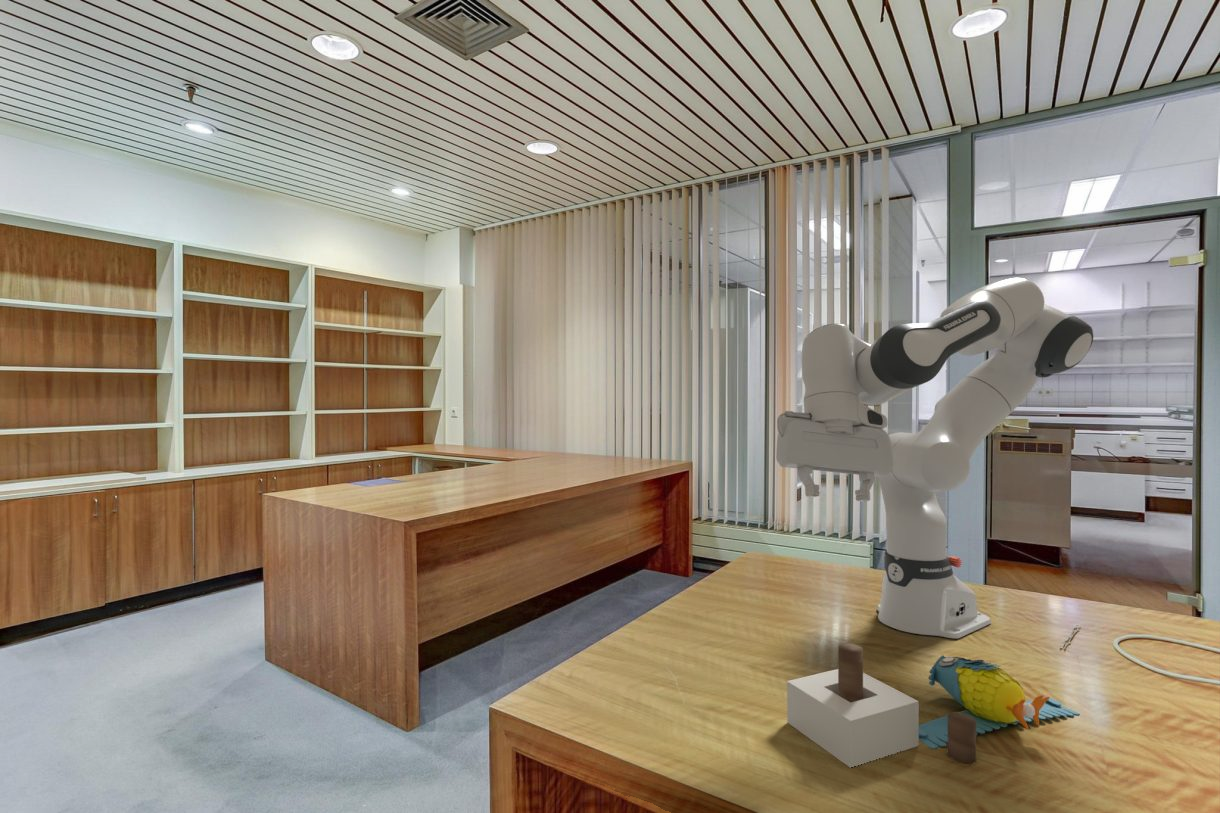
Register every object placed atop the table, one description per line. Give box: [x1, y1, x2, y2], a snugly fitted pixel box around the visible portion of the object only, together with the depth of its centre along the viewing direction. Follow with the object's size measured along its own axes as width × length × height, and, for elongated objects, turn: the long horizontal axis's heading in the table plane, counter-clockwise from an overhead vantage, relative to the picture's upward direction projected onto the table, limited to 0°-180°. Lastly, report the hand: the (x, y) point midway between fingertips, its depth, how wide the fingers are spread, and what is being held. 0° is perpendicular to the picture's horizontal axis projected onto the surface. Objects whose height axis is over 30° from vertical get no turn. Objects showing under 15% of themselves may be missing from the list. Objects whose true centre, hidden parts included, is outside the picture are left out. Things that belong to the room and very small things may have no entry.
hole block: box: [786, 668, 920, 769], centre depth 86 cm, size 12×12×6 cm
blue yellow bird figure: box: [919, 654, 1080, 750], centre depth 90 cm, size 28×9×15 cm
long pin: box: [837, 642, 864, 703], centre depth 86 cm, size 3×3×12 cm
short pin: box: [947, 711, 977, 765], centre depth 80 cm, size 3×3×5 cm
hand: (838, 498), depth 100 cm, fingers open, 8 cm apart
